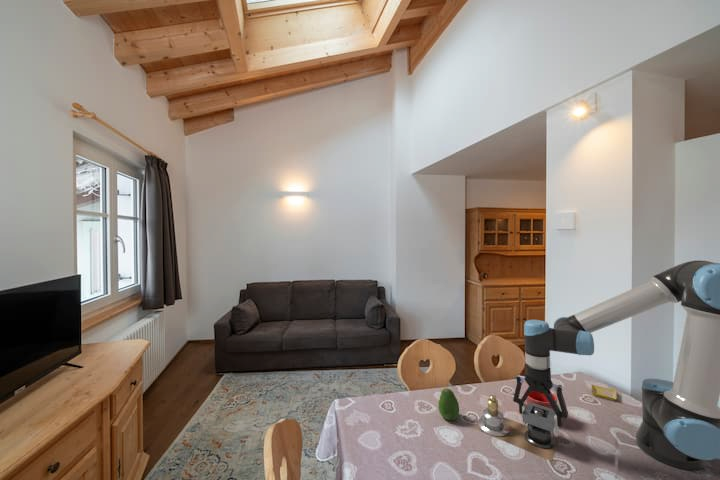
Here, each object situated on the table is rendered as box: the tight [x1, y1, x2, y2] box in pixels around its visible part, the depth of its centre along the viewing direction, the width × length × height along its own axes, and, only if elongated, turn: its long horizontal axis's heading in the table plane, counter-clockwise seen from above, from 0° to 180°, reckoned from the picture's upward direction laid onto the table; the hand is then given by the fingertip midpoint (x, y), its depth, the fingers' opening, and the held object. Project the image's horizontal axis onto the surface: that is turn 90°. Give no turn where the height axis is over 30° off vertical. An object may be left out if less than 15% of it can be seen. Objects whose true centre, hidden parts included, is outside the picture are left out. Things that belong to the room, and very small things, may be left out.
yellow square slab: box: [590, 384, 618, 402], centre depth 129 cm, size 9×9×2 cm
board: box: [473, 415, 559, 462], centre depth 106 cm, size 25×14×1 cm, turn 48°
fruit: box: [438, 388, 460, 421], centre depth 116 cm, size 8×8×12 cm
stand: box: [525, 408, 555, 449], centre depth 102 cm, size 9×9×10 cm
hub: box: [477, 394, 510, 438], centre depth 109 cm, size 11×11×12 cm
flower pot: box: [524, 388, 558, 409], centre depth 115 cm, size 11×11×10 cm
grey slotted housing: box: [521, 402, 555, 433], centre depth 102 cm, size 9×9×3 cm
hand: (540, 428), depth 102 cm, fingers closed on grey slotted housing, 9 cm apart
